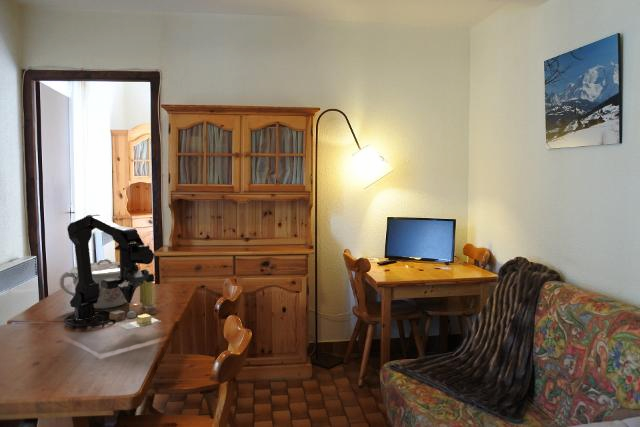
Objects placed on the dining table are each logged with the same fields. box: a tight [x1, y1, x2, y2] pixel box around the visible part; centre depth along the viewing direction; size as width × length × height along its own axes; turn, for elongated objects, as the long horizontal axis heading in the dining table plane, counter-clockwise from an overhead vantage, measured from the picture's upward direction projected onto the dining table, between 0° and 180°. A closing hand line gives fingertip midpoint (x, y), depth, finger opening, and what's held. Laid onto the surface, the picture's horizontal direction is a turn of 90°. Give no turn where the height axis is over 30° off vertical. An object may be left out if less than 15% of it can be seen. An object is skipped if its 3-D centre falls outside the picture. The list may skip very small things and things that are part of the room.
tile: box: [135, 313, 152, 324], centre depth 193 cm, size 4×4×2 cm
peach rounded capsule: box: [128, 301, 143, 316], centre depth 205 cm, size 5×5×5 cm
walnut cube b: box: [143, 304, 157, 315], centre depth 206 cm, size 4×4×4 cm
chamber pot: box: [59, 258, 127, 310], centre depth 220 cm, size 28×28×21 cm
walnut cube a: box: [109, 309, 126, 322], centre depth 197 cm, size 4×4×4 cm
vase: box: [139, 280, 155, 308], centre depth 216 cm, size 6×6×14 cm
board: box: [118, 317, 161, 331], centre depth 192 cm, size 14×7×1 cm, turn 139°
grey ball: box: [126, 311, 137, 319], centre depth 200 cm, size 4×4×4 cm
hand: (128, 302), depth 187 cm, fingers closed
